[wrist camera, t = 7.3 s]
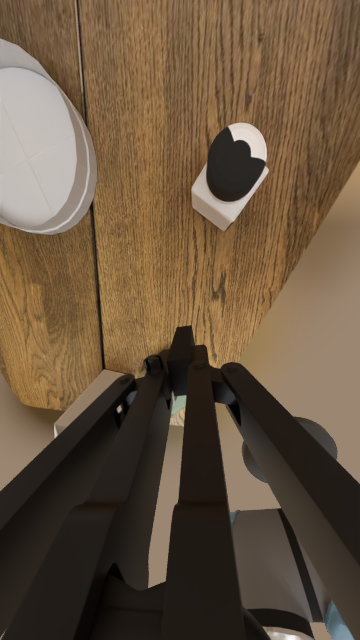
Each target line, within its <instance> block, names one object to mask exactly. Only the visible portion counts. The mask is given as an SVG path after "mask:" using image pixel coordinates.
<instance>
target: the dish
mask: <svg viewBox="0 0 360 640" xmlns="http://www.w3.org/2000/svg"><path fill="white" fill-rule="evenodd" d="M96 182H97V163H96V154H95V150H94V146H93V142H92V139H91V135H90V133H89V131H88V129H87V127H86V125H85V123H84V121H83V119H82V117H81V115H80V113H79V112H78V111H77V109H76V108H75V107H74V105H73V104H72V103H71V101H70V100H69V99H68V97H67V96H66V95H65V94H64V92H63V91H62V90H61V89H60V87H59V86H58V85H57V83H56V82H55V81H53V80H52V79H51V77H50V76H49V75H48V74H47V72H46V71H45V70H44V69H43V67H42V66H41V65H40V63H39V62H38V61H37V60H35V59H34V58H33V57H32V56H30V55H29V54H28V53H27V52H25V51H24V50H23V49H22V48H20V47H19V46H18V45H15V44H13V43H10V42H8V41H5V40H2V39H0V223H2V224H4V225H7V226H10V227H14V228H18V229H21V230H24V231H26V232H32V233H36V234H48V235H53V234H57V233H62V232H66V231H67V230H69V229H70V228H72V227H73V226H75V225H76V224H78V223H79V221H80V220H81V219H82V218H83V217H84V215H85V214H86V213H87V211H88V209H89V207H90V205H91V202H92V200H93V198H94V194H95V188H96Z"/></svg>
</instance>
